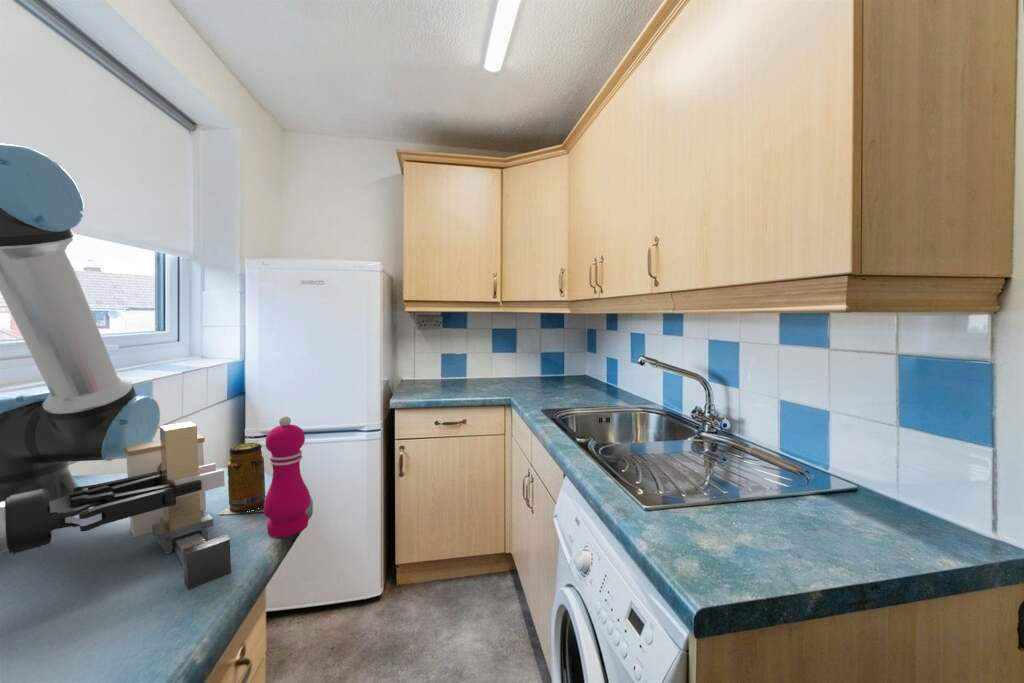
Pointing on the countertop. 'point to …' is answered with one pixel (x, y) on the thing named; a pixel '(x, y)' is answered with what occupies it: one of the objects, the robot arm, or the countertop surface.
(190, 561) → the rail
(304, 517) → the pepper mill
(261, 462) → the condiment
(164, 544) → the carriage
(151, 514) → the end cabinet
